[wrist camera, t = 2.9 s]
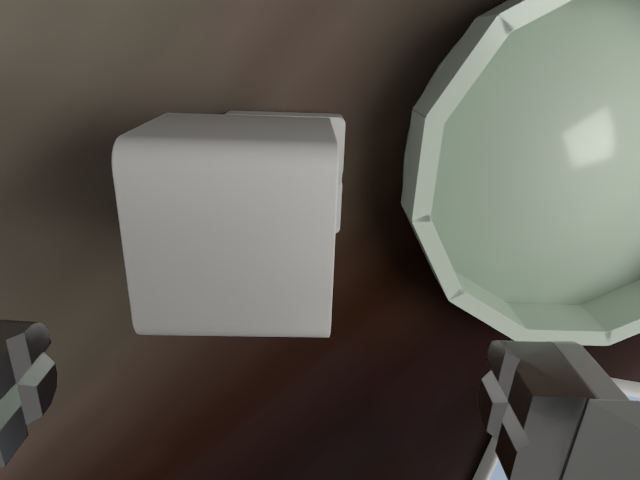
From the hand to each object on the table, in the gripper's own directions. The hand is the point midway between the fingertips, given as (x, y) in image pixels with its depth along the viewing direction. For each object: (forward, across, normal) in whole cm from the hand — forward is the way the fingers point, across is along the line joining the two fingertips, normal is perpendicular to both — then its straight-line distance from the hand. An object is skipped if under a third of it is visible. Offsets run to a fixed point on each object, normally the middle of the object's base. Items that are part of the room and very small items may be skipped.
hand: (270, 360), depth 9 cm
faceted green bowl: (+15, -13, -1) cm, 20 cm away
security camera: (+15, +2, 0) cm, 15 cm away
